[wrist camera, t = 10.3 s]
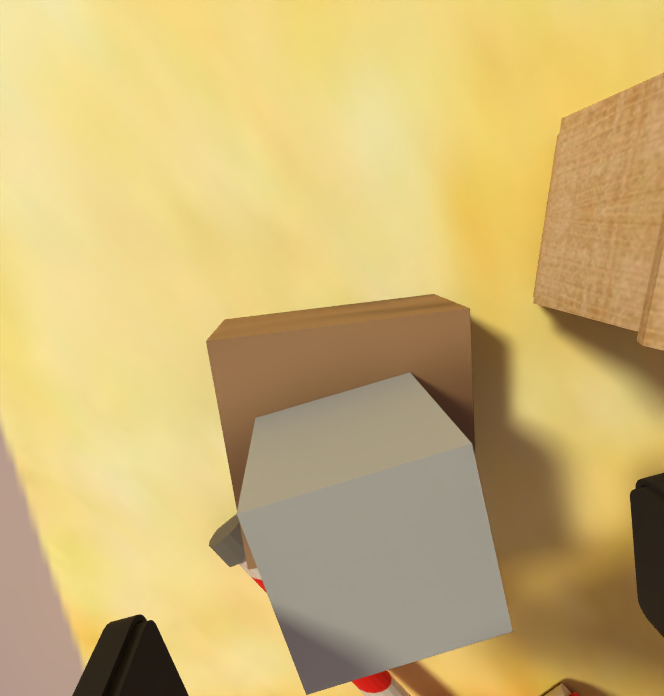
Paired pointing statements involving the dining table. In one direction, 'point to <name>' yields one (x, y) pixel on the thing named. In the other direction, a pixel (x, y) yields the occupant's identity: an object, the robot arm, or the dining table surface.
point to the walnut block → (337, 363)
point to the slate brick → (370, 532)
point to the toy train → (608, 215)
